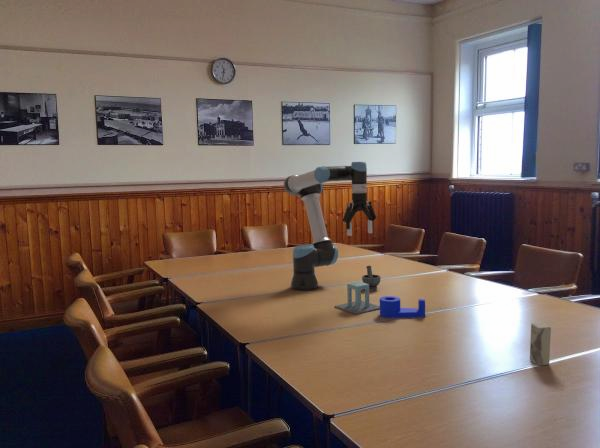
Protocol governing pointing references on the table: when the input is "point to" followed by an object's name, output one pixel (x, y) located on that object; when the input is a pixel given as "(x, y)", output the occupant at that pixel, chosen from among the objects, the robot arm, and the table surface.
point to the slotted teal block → (357, 293)
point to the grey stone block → (540, 343)
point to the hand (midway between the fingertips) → (360, 234)
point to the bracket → (393, 310)
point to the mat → (359, 311)
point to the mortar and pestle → (371, 279)
